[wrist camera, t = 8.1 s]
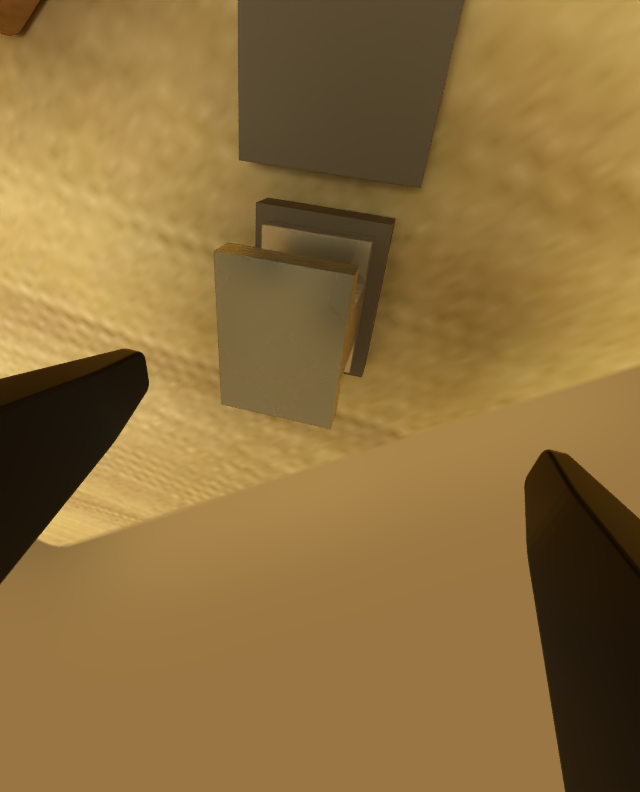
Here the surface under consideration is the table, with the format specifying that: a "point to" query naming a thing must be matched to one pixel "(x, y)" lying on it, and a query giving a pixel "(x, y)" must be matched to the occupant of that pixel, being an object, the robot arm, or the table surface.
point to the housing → (290, 319)
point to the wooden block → (15, 15)
